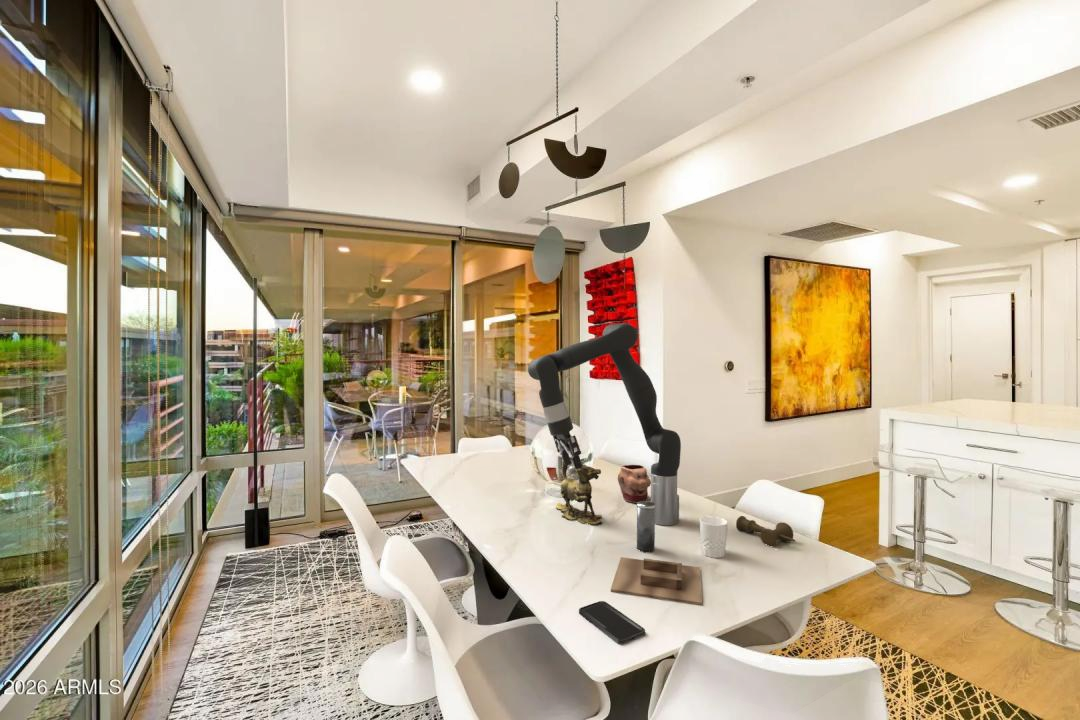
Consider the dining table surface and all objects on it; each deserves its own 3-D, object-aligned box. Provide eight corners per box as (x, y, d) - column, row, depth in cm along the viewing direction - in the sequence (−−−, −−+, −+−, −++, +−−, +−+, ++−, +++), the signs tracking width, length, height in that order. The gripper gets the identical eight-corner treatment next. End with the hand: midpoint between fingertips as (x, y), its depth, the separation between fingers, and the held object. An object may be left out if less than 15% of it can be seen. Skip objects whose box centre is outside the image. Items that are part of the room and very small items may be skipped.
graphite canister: (646, 544, 151) (646, 500, 151) (658, 550, 147) (658, 505, 146) (632, 547, 149) (633, 502, 149) (644, 553, 144) (644, 507, 144)
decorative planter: (607, 494, 206) (608, 461, 205) (632, 491, 210) (632, 459, 210) (633, 508, 187) (633, 472, 187) (659, 504, 191) (659, 470, 191)
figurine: (583, 528, 165) (583, 470, 164) (545, 508, 186) (545, 456, 186) (612, 522, 171) (612, 465, 171) (572, 503, 193) (572, 453, 192)
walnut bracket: (610, 591, 121) (610, 579, 121) (620, 559, 140) (620, 548, 140) (702, 605, 115) (702, 592, 115) (699, 569, 134) (699, 558, 134)
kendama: (749, 528, 167) (805, 547, 150) (730, 534, 162) (786, 554, 145) (748, 511, 167) (804, 527, 150) (730, 516, 162) (785, 534, 145)
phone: (603, 600, 116) (647, 630, 103) (603, 604, 116) (647, 635, 103) (576, 609, 111) (619, 642, 99) (576, 613, 111) (619, 647, 99)
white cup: (726, 550, 147) (726, 517, 147) (727, 560, 140) (727, 526, 140) (699, 546, 150) (699, 514, 150) (699, 556, 142) (699, 523, 142)
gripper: (577, 414, 145) (593, 465, 146) (560, 413, 159) (575, 459, 159) (555, 422, 143) (571, 474, 143) (540, 421, 156) (555, 468, 157)
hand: (573, 466), depth 151 cm, fingers open, 8 cm apart
